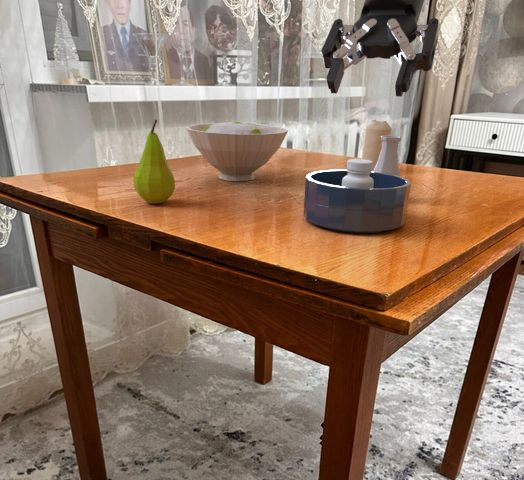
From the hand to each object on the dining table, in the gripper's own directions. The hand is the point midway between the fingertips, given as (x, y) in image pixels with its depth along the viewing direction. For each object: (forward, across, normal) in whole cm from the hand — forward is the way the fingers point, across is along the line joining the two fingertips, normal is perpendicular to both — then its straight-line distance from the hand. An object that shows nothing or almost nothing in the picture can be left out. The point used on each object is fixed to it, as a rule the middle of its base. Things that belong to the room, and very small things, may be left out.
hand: (364, 90), depth 68 cm
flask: (-1, 0, +25) cm, 25 cm away
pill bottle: (+11, 0, +13) cm, 17 cm away
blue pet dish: (+11, 0, +13) cm, 17 cm away
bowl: (-4, -30, +28) cm, 41 cm away
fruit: (+15, -30, +9) cm, 35 cm away
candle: (-21, -9, +45) cm, 51 cm away
